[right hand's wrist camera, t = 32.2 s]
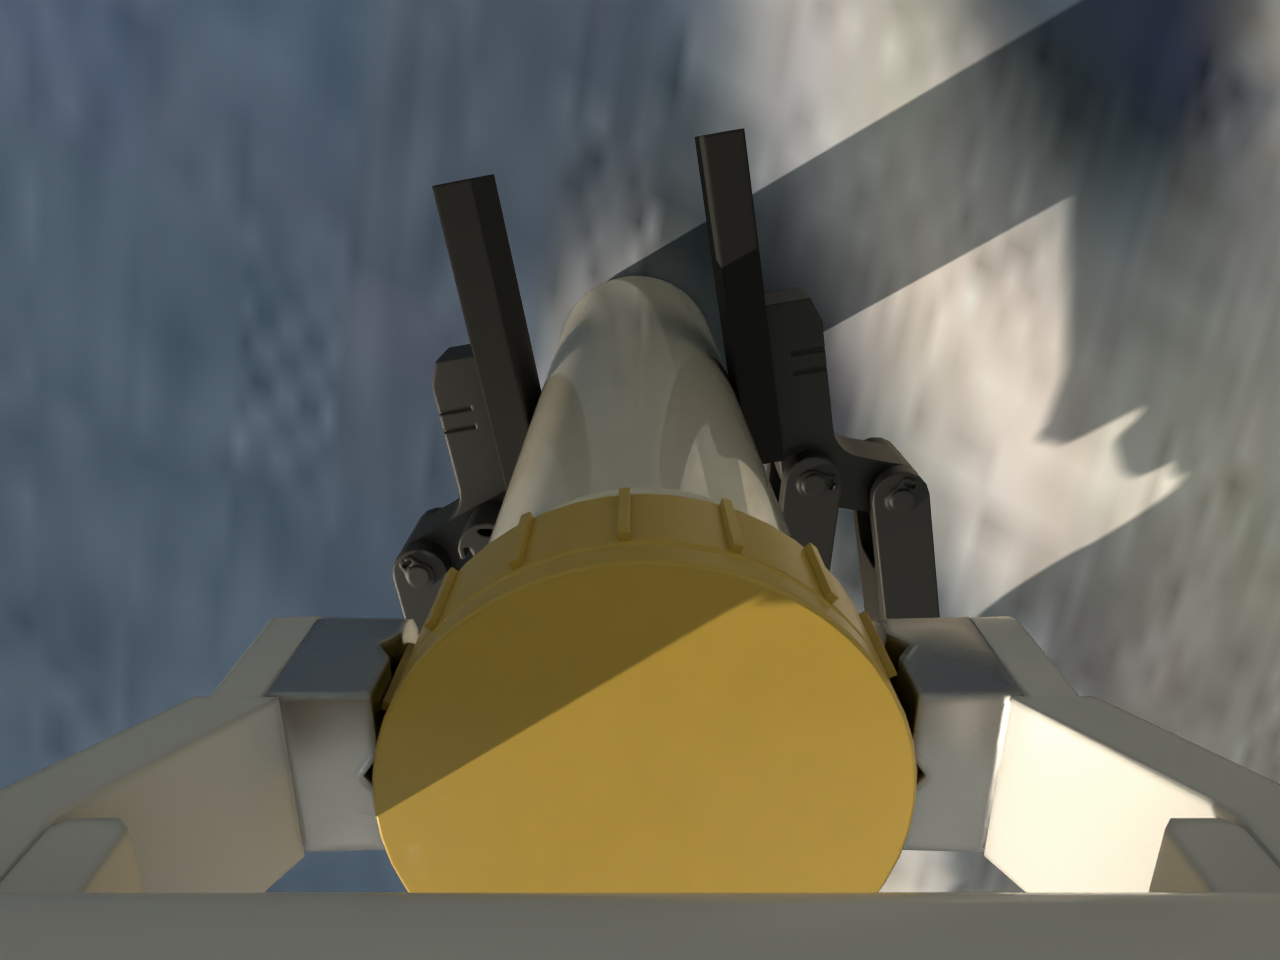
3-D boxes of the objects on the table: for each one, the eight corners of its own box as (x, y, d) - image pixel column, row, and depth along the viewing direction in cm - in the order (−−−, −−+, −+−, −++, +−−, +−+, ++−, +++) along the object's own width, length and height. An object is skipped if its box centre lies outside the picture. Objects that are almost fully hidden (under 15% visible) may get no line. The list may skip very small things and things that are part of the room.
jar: (704, 429, 26) (818, 895, 10) (557, 419, 26) (439, 877, 10) (719, 280, 25) (881, 555, 9) (563, 269, 25) (434, 529, 9)
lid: (829, 430, 9) (869, 491, 7) (913, 832, 10) (959, 947, 9) (334, 559, 9) (276, 640, 8) (495, 924, 11) (474, 1046, 9)
